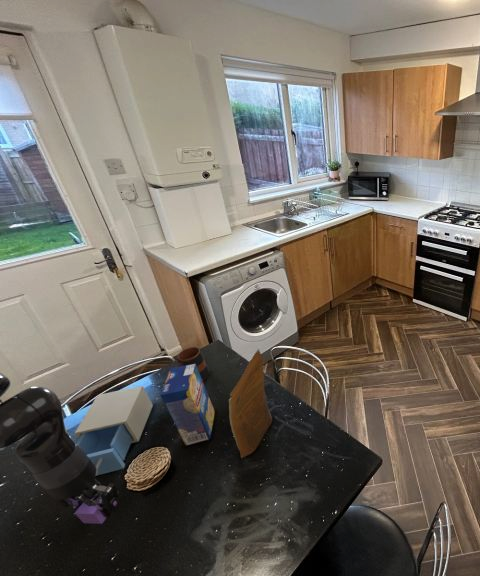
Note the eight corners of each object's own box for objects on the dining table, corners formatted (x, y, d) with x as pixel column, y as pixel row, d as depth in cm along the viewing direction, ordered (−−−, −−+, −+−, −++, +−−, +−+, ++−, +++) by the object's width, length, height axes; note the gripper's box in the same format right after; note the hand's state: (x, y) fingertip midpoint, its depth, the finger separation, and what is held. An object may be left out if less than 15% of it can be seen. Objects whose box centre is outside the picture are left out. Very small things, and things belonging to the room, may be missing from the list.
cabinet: (138, 441, 96) (126, 421, 92) (89, 453, 93) (74, 433, 88) (153, 405, 109) (142, 385, 104) (110, 414, 105) (97, 394, 100)
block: (83, 523, 71) (74, 513, 69) (99, 502, 75) (91, 492, 72) (102, 524, 71) (93, 514, 68) (117, 503, 74) (109, 492, 72)
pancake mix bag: (283, 411, 106) (268, 348, 92) (252, 465, 90) (228, 398, 76) (265, 408, 107) (248, 345, 94) (231, 461, 91) (204, 394, 77)
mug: (172, 387, 116) (160, 364, 110) (198, 366, 125) (189, 343, 120) (189, 393, 113) (178, 370, 107) (215, 371, 123) (206, 348, 117)
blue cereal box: (214, 411, 106) (195, 363, 96) (210, 439, 97) (188, 389, 86) (192, 416, 104) (170, 368, 94) (185, 445, 95) (160, 395, 85)
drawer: (116, 485, 84) (104, 468, 80) (65, 499, 81) (49, 482, 77) (139, 428, 99) (130, 412, 96) (97, 438, 96) (85, 422, 93)
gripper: (112, 453, 67) (141, 496, 76) (48, 451, 68) (84, 494, 76) (81, 489, 61) (117, 532, 69) (11, 486, 61) (55, 529, 69)
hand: (100, 512), depth 72 cm, fingers closed on block, 4 cm apart
